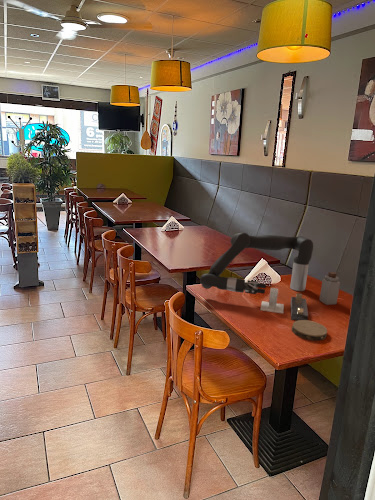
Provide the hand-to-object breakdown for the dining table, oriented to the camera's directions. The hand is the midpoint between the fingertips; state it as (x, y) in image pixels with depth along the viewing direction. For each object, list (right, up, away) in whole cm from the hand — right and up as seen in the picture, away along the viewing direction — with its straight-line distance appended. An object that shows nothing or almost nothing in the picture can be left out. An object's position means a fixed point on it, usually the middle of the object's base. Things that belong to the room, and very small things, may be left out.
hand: (265, 288), depth 202 cm
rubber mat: (+4, -10, +1) cm, 11 cm away
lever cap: (+4, -10, +1) cm, 11 cm away
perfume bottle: (+39, -9, +14) cm, 43 cm away
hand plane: (+18, -12, -2) cm, 21 cm away
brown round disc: (+16, -19, -25) cm, 35 cm away
